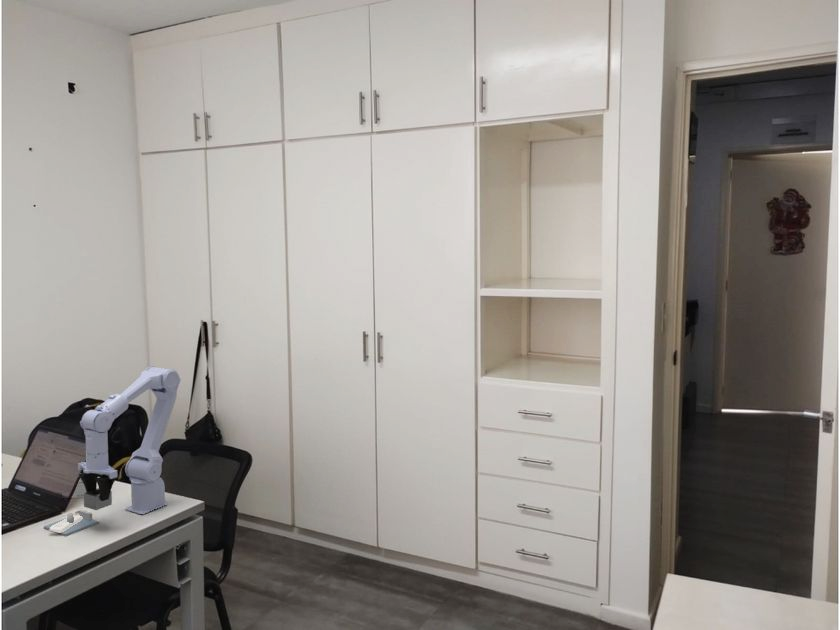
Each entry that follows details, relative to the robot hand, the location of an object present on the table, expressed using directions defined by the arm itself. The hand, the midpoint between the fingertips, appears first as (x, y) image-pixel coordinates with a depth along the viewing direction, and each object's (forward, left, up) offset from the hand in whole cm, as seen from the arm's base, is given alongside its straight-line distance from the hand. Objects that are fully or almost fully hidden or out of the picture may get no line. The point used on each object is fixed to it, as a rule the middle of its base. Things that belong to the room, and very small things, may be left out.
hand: (98, 497), depth 201 cm
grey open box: (0, 0, -2) cm, 2 cm away
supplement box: (-12, -29, -9) cm, 32 cm away
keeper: (+3, -8, -9) cm, 12 cm away
